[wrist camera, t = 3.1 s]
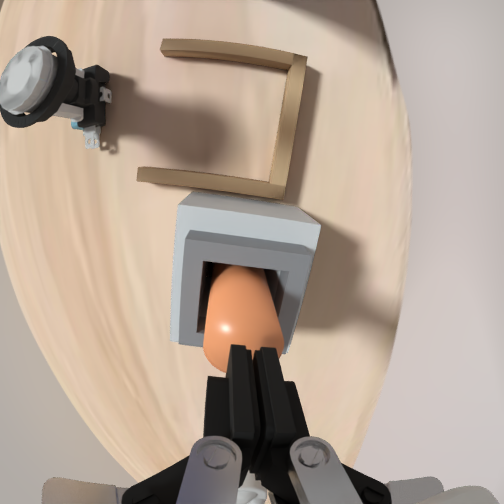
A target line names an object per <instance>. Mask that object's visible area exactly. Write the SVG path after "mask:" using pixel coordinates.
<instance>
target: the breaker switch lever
mask: <svg viewBox="0 0 504 504" xmlns="http://www.w3.org/2000/svg"><path fill="white" fill-rule="evenodd" d="M231 344H236V345H246V349H249V350H251V351H252V360H253V356H254V352H255V350H260V348H261V347H273V348H276V350H277V354H278V358H280V356H281V354H282V352H283V349H284V338H283V334H282V331H281V327H280V324H279V320H278V317H277V313H276V310H275V307H274V303H273V300H272V296H271V293H270V289H269V286H268V283H267V279H266V276H265V272H264V269H263V268H256V267H248V266H240V265H233V264H225V263H217V262H214V265H213V272H212V279H211V286H210V293H209V301H208V308H207V316H206V324H205V332H204V341H203V349H204V353H205V356H206V357H207V359H208V361H209V362H210V363H211V364H212V365H213V366H214V367H216V368H217V369H219V370H220V371H223V372H225V373H226V371H227V365H228V358H229V352H230V346H231Z"/></svg>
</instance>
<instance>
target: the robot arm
mask: <svg viewBox="0 0 504 504" xmlns="http://www.w3.org/2000/svg"><path fill="white" fill-rule="evenodd" d="M248 471H249V472H250V474H255V480H261V485H262V486H263V487H265V488H266V489H268V495H269V498H270V501H271V504H499V503H498V501H497V500H496V498H495V497H494V495H493V494H492V493H491V492H490V491H489V490H487V489H486V488H483V487H481V486H463V487H458V488H454V489H450V490H448V491H445V492H444V489H443V485H442V483H441V482H440V481H439V480H438V479H437V478H435V477H424V478H416V479H409V480H400V481H389V482H388V483H387V484H383V483H381V482H379V481H377V480H375V479H373V478H371V477H368V476H366V475H364V474H362V473H360V472H358V471H356V470H354V469H352V468H350V467H348V466H346V465H344V464H342V463H341V462H340V460H339V458H338V456H337V455H336V453H335V451H334V449H333V448H332V446H331V445H330V444H329V443H328V442H326V441H325V440H323V439H321V438H318V437H312V436H311V437H310V435H309V431H308V428H307V424H306V421H305V417H304V413H303V410H302V406H301V403H300V399H299V396H298V392H297V389H296V385H295V383H294V382H293V381H284V379H283V374H282V370H281V366H280V362H279V358H278V354H277V350H276V348H273V347H261V348H260V350H255V352H254V356H253V360H252V351H251V350H249V349H246V345H236V344H231V346H230V352H229V358H228V365H227V371H226V378H223V377H213V376H208V380H207V390H206V402H205V417H204V434H203V438H202V439H199V440H198V441H197V442H196V443H195V444H194V445H193V447H192V449H191V453H190V455H189V456H187V457H186V458H184V459H182V460H181V461H179V462H177V463H175V464H174V465H172V466H170V467H168V468H167V469H165V470H163V471H161V472H159V473H157V474H155V475H153V476H152V477H150V478H148V479H146V480H144V481H142V482H140V483H138V484H136V485H133V486H131V487H130V488H121V487H120V488H119V487H116V486H115V485H107V484H97V483H90V482H83V481H76V480H71V479H65V478H60V477H59V478H58V477H57V478H56V477H53V478H50V479H48V480H47V481H46V482H45V483H44V485H43V489H42V504H236V502H237V495H238V488H240V487H241V486H242V485H243V483H244V480H245V478H246V476H247V473H248Z"/></svg>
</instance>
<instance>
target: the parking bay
mask: <svg viewBox="0 0 504 504" xmlns="http://www.w3.org/2000/svg"><path fill="white" fill-rule="evenodd" d="M160 51H161V52H162V54H163V55H164V56H176V57H196V58H209V59H220V60H229V61H236V62H244V63H250V64H256V65H262V66H268V67H273V68H278V69H283V70H287V71H288V74H287V79H286V85H285V91H284V97H283V103H282V109H281V115H280V121H279V126H278V132H277V138H276V144H275V150H274V155H273V161H272V167H271V173H270V179H269V182H266V181H260V180H253V179H247V178H240V177H233V176H226V175H219V174H211V173H203V172H195V171H186V170H176V169H166V168H155V167H138V172H137V181H139V182H150V183H160V184H170V185H179V186H188V187H196V188H204V189H212V190H220V191H227V192H234V193H241V194H248V195H255V196H261V197H267V198H274V199H280V200H283V199H284V193H285V188H286V182H287V177H288V171H289V165H290V160H291V154H292V148H293V143H294V137H295V131H296V125H297V119H298V113H299V107H300V101H301V95H302V89H303V82H304V76H305V69H306V63H307V57H306V56H302V55H298V54H294V53H290V52H285V51H281V50H276V49H271V48H265V47H259V46H253V45H247V44H240V43H232V42H223V41H212V40H198V39H163V41H162V44H161V48H160Z"/></svg>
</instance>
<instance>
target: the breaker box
mask: <svg viewBox="0 0 504 504" xmlns="http://www.w3.org/2000/svg"><path fill="white" fill-rule="evenodd" d="M320 229H321V225H320V224H319V223H318V222H317V221H315V220H314V219H313V218H311V217H310V216H309V215H307V214H306V213H305V212H304V211H302V210H301V209H300V208H298V207H296V206H290V205H284V204H278V203H272V202H265V201H259V200H252V199H246V198H239V197H232V196H225V195H217V194H209V193H202V192H191V193H190V194H189V195H188V196H187V197H186V198H185V199H184V200H182V201H181V202H180V203H179V204H178V210H177V220H176V231H175V243H174V256H173V271H172V291H171V320H170V341H173V342H179V344H182V345H189V346H196V347H203V341H204V332H205V324H206V316H207V308H208V301H209V293H210V286H211V279H212V278H210V277H206V273H207V264H208V261H209V262H217V263H225V264H233V265H240V266H248V267H256V268H263V269H264V272H265V276H266V279H267V283H268V286H269V289H270V293H271V296H272V300H273V303H274V307H275V310H276V313H277V317H278V320H279V324H280V327H281V331H282V334H283V338H284V349H283V352H282V354H286V353H288V351H289V347H290V344H291V341H292V337H293V334H294V330H295V327H296V324H297V320H298V316H299V313H300V309H301V306H302V302H303V298H304V294H305V291H306V287H307V283H308V279H309V275H310V271H311V267H312V263H313V259H314V255H315V251H316V246H317V242H318V238H319V233H320Z"/></svg>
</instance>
